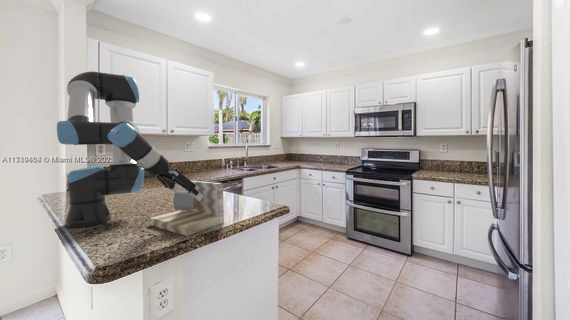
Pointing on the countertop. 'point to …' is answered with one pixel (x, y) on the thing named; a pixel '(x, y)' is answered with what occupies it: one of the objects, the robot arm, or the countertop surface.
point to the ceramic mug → (184, 201)
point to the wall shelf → (195, 212)
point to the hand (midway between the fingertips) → (192, 197)
